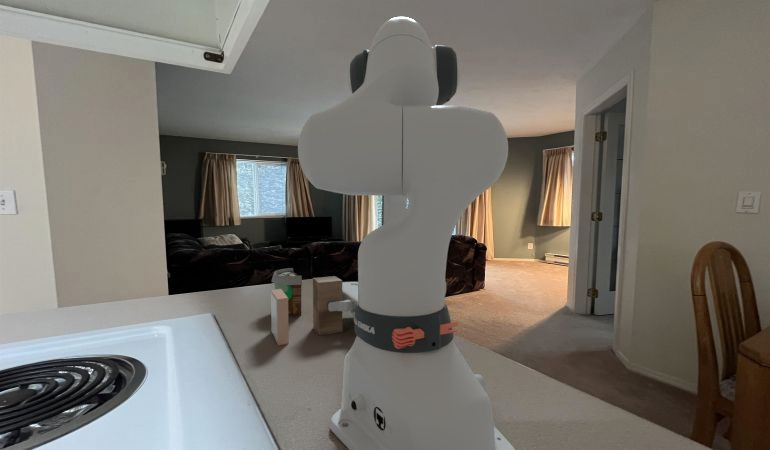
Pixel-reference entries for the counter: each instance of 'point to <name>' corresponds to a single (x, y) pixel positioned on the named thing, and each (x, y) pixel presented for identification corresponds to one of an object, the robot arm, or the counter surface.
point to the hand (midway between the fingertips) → (323, 302)
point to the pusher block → (323, 293)
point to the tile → (279, 316)
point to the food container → (289, 289)
